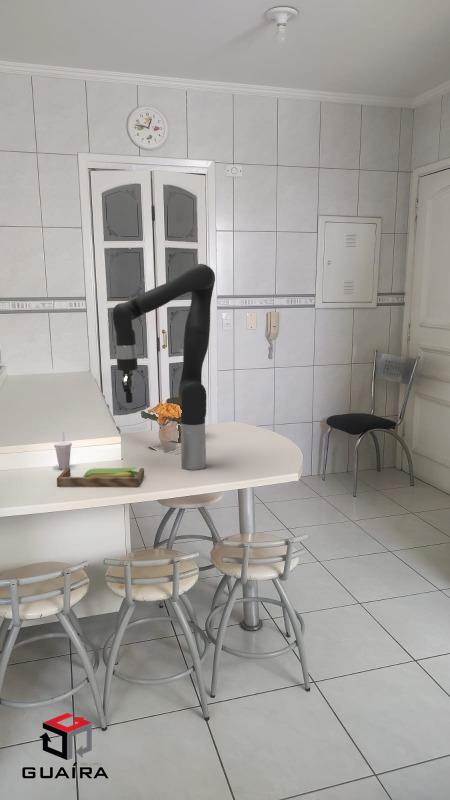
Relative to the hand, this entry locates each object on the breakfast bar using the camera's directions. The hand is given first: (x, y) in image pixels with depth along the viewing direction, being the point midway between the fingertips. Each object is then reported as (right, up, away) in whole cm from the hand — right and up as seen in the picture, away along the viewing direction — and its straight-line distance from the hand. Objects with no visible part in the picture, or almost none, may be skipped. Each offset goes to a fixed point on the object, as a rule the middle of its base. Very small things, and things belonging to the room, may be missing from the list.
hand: (129, 402), depth 212 cm
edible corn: (-3, -28, -15) cm, 32 cm away
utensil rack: (-7, -28, -16) cm, 33 cm away
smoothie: (-25, -25, 0) cm, 35 cm away
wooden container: (+17, -17, +42) cm, 49 cm away
